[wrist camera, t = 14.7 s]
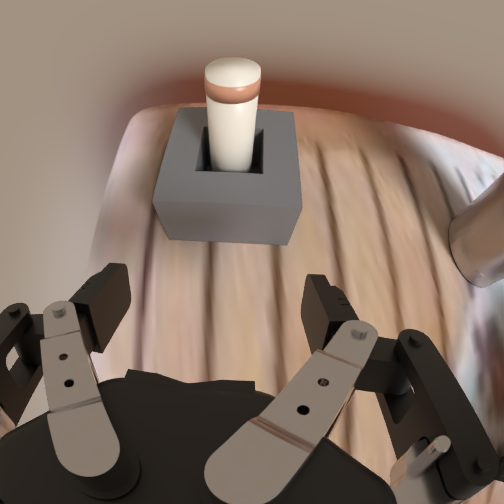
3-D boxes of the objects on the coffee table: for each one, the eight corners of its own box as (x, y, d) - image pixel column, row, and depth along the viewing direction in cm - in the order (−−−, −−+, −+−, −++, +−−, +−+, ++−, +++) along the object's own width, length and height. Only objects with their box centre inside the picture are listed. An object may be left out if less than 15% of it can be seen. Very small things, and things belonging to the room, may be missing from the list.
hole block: (186, 152, 27) (179, 107, 22) (283, 156, 28) (293, 112, 22) (169, 239, 23) (151, 201, 18) (287, 245, 24) (302, 208, 18)
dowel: (237, 167, 26) (242, 53, 15) (256, 192, 25) (272, 74, 14) (205, 182, 25) (194, 65, 14) (224, 208, 24) (221, 87, 13)
